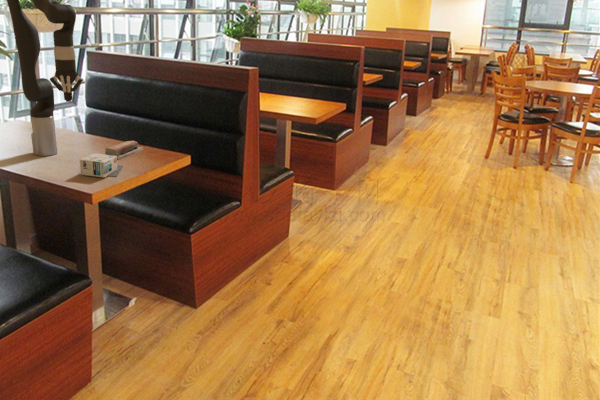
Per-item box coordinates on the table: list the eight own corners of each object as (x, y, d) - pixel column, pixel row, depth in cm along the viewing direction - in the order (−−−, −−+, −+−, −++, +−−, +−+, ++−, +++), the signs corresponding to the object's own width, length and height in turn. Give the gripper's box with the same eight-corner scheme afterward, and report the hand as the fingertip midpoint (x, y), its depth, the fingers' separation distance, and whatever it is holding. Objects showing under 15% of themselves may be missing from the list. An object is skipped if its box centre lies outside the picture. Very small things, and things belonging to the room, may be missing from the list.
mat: (86, 176, 227) (86, 175, 227) (94, 165, 240) (94, 165, 240) (116, 176, 228) (116, 175, 228) (123, 166, 241) (123, 165, 241)
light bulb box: (80, 175, 227) (104, 178, 225) (78, 159, 224) (103, 162, 222) (94, 167, 236) (118, 170, 235) (93, 152, 234) (117, 155, 232)
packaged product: (119, 150, 248) (100, 147, 251) (120, 160, 250) (101, 157, 253) (143, 140, 264) (125, 138, 267) (143, 150, 266) (126, 148, 269)
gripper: (44, 58, 217) (48, 102, 223) (79, 59, 218) (82, 104, 224) (50, 55, 224) (54, 98, 230) (84, 57, 225) (87, 100, 231)
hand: (68, 101), depth 227 cm, fingers closed
